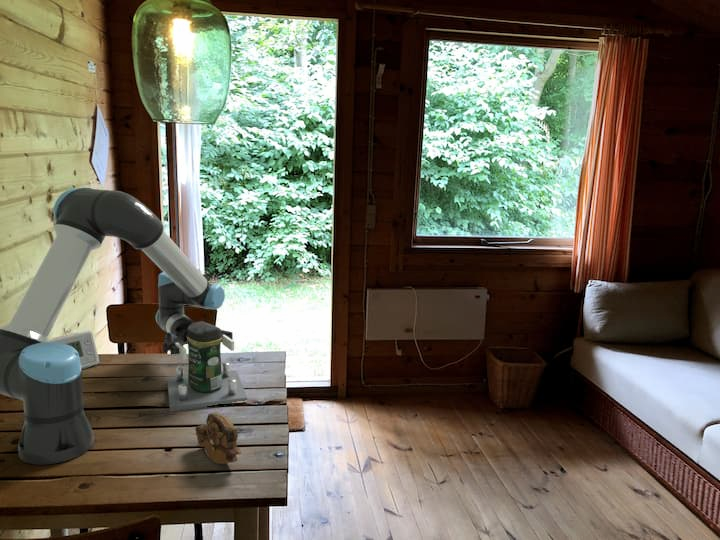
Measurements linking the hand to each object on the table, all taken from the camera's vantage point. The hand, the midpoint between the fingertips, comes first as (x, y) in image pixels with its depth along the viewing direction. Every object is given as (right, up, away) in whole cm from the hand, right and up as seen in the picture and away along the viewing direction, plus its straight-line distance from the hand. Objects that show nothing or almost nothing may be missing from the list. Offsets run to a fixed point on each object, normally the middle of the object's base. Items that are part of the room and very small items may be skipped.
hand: (209, 350), depth 156 cm
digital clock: (-47, -9, +17) cm, 50 cm away
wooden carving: (+9, -21, -29) cm, 36 cm away
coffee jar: (-3, -11, +5) cm, 13 cm away
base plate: (-2, -13, +5) cm, 14 cm away
